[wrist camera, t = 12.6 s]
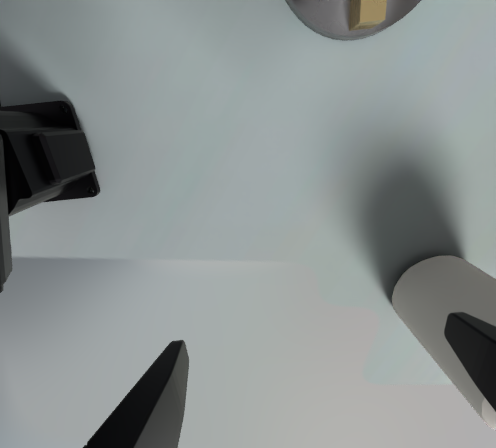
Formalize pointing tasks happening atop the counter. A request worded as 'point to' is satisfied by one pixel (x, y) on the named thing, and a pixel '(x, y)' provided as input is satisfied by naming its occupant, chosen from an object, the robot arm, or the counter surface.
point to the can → (437, 309)
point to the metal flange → (350, 16)
